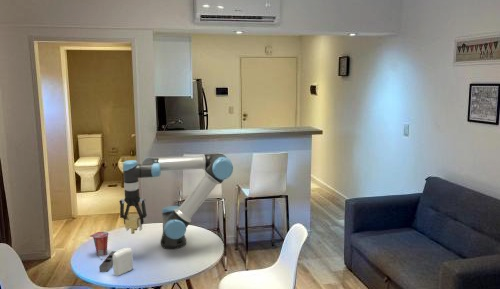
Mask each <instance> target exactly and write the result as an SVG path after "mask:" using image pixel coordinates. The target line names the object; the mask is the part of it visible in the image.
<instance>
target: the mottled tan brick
mask: <svg viewBox="0 0 500 289" xmlns="http://www.w3.org/2000/svg"><path fill="white" fill-rule="evenodd" d="M139 218H140V217H139V215H138V213H128V215H127V218H126V219H125V224H124V227H125V229H126V228H129V229H130V233H131V234H132V235H133V234H135V231H137V230H138V229H139Z"/></svg>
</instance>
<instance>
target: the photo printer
mask: <svg viewBox="0 0 500 289" xmlns="http://www.w3.org/2000/svg"><path fill="white" fill-rule="evenodd" d="M116 251H117V252H115V253H114V254H113V256H112V258H113V265H112V267H113V275H114V276H116V277H118V276H121V275H123V274H125V273H127V272H130V271H132V270H133V269H134V263H133V261H134V260H133V251H132V249H131V248H130V247H124V248H121V249H119V250H116Z"/></svg>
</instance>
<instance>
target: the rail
mask: <svg viewBox="0 0 500 289" xmlns="http://www.w3.org/2000/svg"><path fill="white" fill-rule="evenodd" d="M117 251H118V250H116V251H115V250H113V251H111V252H110V253H109V254H108V255H107V256H106V257H105V259H104V260H103V261H102V263H101V264H100V265H99V266H98V268H99V273H108V272H109V271H110V270H111V268H112V267H113V258H112V256H113V254H114V253H115V252H117Z"/></svg>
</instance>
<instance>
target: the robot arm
mask: <svg viewBox="0 0 500 289" xmlns="http://www.w3.org/2000/svg"><path fill="white" fill-rule="evenodd" d="M185 170H187V171H188V170H189V171H190V170H202V171H204V175H203V177H202V178H201V179H200V181H199V182H198V184H197V185H196V186H195V187H194V188H193V190H192V191H191V192H190V194H189V195H188V196H187V197H186V199H185V200H184V201H183V202H182V204H181V205H180V206H179V205H169V206H164V207H163V208H162V209H161V215H162V216H161V217H162V235H161V238H160V247H161V248H163V249H167V250H175V249H181V248H183V247H184V246H186V245H187V237H186V236H185V234H186V232H187V228H188V226H189V225H190V224H191V222H192V217H193V216H194V215H195V214H196V212H197V211H198V210H199V208H200V207H201V206H202V204H203V203H204V202H205V201H206V200H207V198H208V196H209V195H210V194H211V192H213V190H214V189H215V188H216V186H218V185H222V184H223V182H224V181H225V180H227V179H229V178H230V177H231V176H232V174H233V172H234V166H233V163H232V161H231V160H230V159H229V158H228V157H227V156H226V155H225V154H222V153H219V152H217V153H216V152H214V153H203V154H202V155H196V156H179V157H178V156H177V157H175V156H174V157H155V158H154V157H151V156H148V157H145V158H144V159H143V161H142V163H138V161H137V160H135V159H134V160H133V159H132V160H131V159H130V160H125V161H124V162H123V163H122V175H123V176H122V177H123V189H124V198H123V199H122V198H121V199H120V200H118V201H119V205H120V208H119V210H120V211H119V218H121V219H123V224H124V225H125V219H126V218H127V217H128V216H129V212H130V208H131V207H134V208H135V209H136V212H137V214H138V215H139V217H140V218H139V227H138V229H139V232H140V231H142V230H143V225H144V219H145V218H147V217H148V216H147V215H148V214H147V207H146V199H145V198H144V199H143V198H141V197H140V189H139V188H140V186H139V185H140V184H139V179H142V178H145V179H147V178H157V177H160V176H161V175H162V174H161V173H162V172H166V171H167V172H168V171H169V172H170V171H185ZM139 203H140V204H141V207H140V204H139ZM125 204H126V206H125ZM125 207H126V208H125ZM129 229H130V228H125V230H126V232H128V231H129Z"/></svg>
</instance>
